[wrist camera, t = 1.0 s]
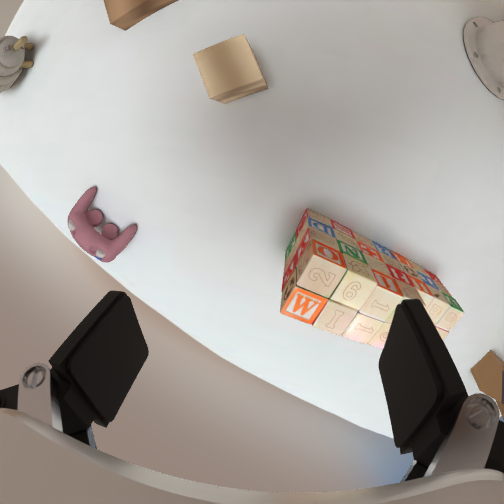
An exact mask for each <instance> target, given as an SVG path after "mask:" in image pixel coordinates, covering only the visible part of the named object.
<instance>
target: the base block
mask: <svg viewBox="0 0 504 504" xmlns="http://www.w3.org/2000/svg"><path fill="white" fill-rule="evenodd" d="M176 1H178V0H104V3H105V7H106V10H107V14H108V17H109V21H110V24H112V25H114V26H117V27H119V28H121V29H124V30H127V29H129V28H130V27H132V26H133V25H135V24H136V23H138V22H140V21H141V20H143V19H145V18H146V17H148V16H150V15H151V14H153V13H155V12H157V11H159V10H160V9H162V8H164V7H166V6H168V5H170V4H172V3H174V2H176Z"/></svg>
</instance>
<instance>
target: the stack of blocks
mask: <svg viewBox="0 0 504 504" xmlns="http://www.w3.org/2000/svg"><path fill="white" fill-rule="evenodd" d="M404 299H419V300H420V301H421V302H422V304H423V306H424V308H425V309H426V311H427V313H428V314H429V316H430V318H431V320H432V322H433V323H434V325H435V327H436V329H437V331H438V333H439V334H440V336H441V338H442V340H443V339H444V338H445V337H446V336H447V335H448V333H449V331H450V330H451V329H452V328H453V327H454V326H455V324H456V323H457V322H458V320H459V319H460V318H461V317H462V315H463V314H464V311H463V310H462V308H461V307H460V305H459V304H458V303H457V301H456V300H455V299H454V298H453V297H452V296H451V294H450V293H449V292H448V290H447V289H446V288H445V287H444V286H443V284H442V283H441V282H440V280H439V279H438V278H437V277H436V275H434V274H432V273H430V272H428V271H427V270H425V269H423V268H422V267H421V266H419V265H417V264H415V263H413V262H412V261H410V260H407V259H406V258H405V257H403V256H401V255H399V254H397V253H395V252H394V251H392V250H389V249H387V248H385V247H383V246H381V245H379V244H377V243H375V242H373V241H371V240H369V239H367V238H365V237H363V236H361V235H359V234H357V233H355V232H353V231H351V230H350V229H349V228H347V227H345V226H343V225H341V224H339V223H336V222H334V221H332V220H330V219H328V218H327V217H325V216H322V215H320V214H318V213H316V212H314V211H312V210H310V209H306V211H305V213H304V215H303V217H302V219H301V221H300V224H299V226H298V228H297V229H296V233H295V235H294V236H293V238H292V240H291V242H290V244H289V246H288V248H287V250H286V254H285V267H284V277H283V284H282V299H281V308H280V313H281V314H284V315H286V316H289V317H292V318H294V319H297V320H299V321H302V322H305V323H308V324H312V326H313V327H315V328H318V329H321V330H324V331H327V332H330V333H333V334H336V335H339V336H340V335H342V337H345V338H347V339H351V340H354V341H357V342H360V343H363V344H369V345H371V346H375V347H378V348H381V349H383V348H384V345H385V342H386V339H387V336H388V333H389V329H390V326H391V323H392V320H393V316H394V313H395V309H396V306H397V305H398V304H401V302H402V300H404Z"/></svg>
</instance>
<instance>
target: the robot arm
mask: <svg viewBox="0 0 504 504" xmlns="http://www.w3.org/2000/svg"><path fill="white" fill-rule="evenodd" d="M464 43H465V47H466V51H467V54H468V57H469V59H470V61H471V64H472V66H473V68H474V70H475V71H476V73H477V75H478V76H479V78H480V79H481V81H482V82H483V83H484V85H485V86H486V87H487V88H488V89H489V90H490V91H491V92H492V93H493V94H494V95H496V96H497V97H499V98H501V99H503V100H504V20H501V21H498V22H495V23H494V22H492V21H490V20H488V19H486V18H482V17H476V18H473V19H471V20H469V21H468V22H467V23H466V25H465V28H464ZM148 352H149V351H148V347H147V344H146V342H145V339H144V336H143V334H142V331H141V328H140V326H139V323H138V320H137V317H136V314H135V311H134V308H133V305H132V302H131V299H130V298H129V297H128V296H127V294H126V293H125V292H121V291H110V292H108V293H107V294H106V295H105V296H104V298H103V299H102V300H101V301H100V302H99V303H98V304H97V305H96V306H95V307H94V308H93V309H92V310H91V312H90V313H89V314H88V315H87V316H86V317H85V318H84V319H83V321H82V322H81V323H80V324H79V325H78V326H77V327H76V329H75V330H74V331H73V332H72V333H71V334H70V335H69V337H68V338H67V339H66V340H65V341H64V343H63V344H62V345H61V346H60V347H59V349H58V350H57V351H56V352H55V354H54V355H53V356H52V357H51V358H50V360H49V362H50V364H51V365H52V369H51V370H50V369H49V367H48V366H47V365H46V364H44V363H34V364H32V365H30V366H29V367H27V368H26V369H25V370H24V371H23V373H22V374H21V377H20V380H19V384H18V385H15V386H12V387H9V388H6V389H3V390H0V504H504V422H502V421H500V420H499V409H498V406H497V404H496V402H495V401H494V400H493V399H492V398H491V397H489V396H487V395H485V394H481V393H479V394H473V395H471V396H468V394H467V392H466V389H465V386H464V384H463V382H462V379H461V377H460V375H459V373H458V371H457V368H456V366H455V364H454V362H453V360H452V358H451V356H450V354H449V352H448V350H447V348H446V346H445V344H444V342H443V340H442V338H441V336H440V334H439V333H438V331H437V329H436V327H435V325H434V323H433V322H432V320H431V318H430V316H429V314H428V313H427V311H426V309H425V308H424V306H423V304H422V302H421V301H420V300H419V299H404V300H402V302H401V304H398V305H397V306H396V309H395V313H394V316H393V320H392V323H391V326H390V329H389V333H388V336H387V339H386V342H385V345H384V348H383V351H382V354H381V356H380V359H379V371H380V375H381V379H382V383H383V387H384V392H385V396H386V401H387V405H388V410H389V415H390V420H391V425H392V431H393V436H394V442H395V446H396V447H397V448H399V447H400V452H401V454H406V453H410V452H413V457H414V462H413V463H412V465H411V466H410V468H409V470H408V471H407V473H406V474H405V476H404V477H403V479H402V480H401V482H400V483H395V484H390V485H384V486H379V487H372V488H364V489H356V490H347V491H337V492H321V493H279V492H262V491H251V490H242V489H234V488H227V487H220V486H214V485H208V484H204V483H199V482H194V481H189V480H185V479H181V478H177V477H173V476H169V475H166V474H163V473H159V472H156V471H153V470H149V469H146V468H143V467H140V466H137V465H135V464H132V463H129V462H126V461H124V460H121V459H118V458H116V457H114V456H111V455H109V454H106V453H104V452H102V451H100V450H97V447H96V443H95V440H94V435H93V431H92V427H91V423H92V422H93V421H94V422H95V423H96V424H98V425H101V426H103V427H107V425H108V424H109V422H111V421H113V420H114V418H115V416H116V414H117V412H118V410H119V408H120V406H121V404H122V403H123V401H124V399H125V397H126V395H127V393H128V391H129V390H130V388H131V386H132V384H133V382H134V380H135V379H136V377H137V375H138V373H139V371H140V369H141V368H142V366H143V364H144V362H145V361H146V359H147V356H148Z"/></svg>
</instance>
